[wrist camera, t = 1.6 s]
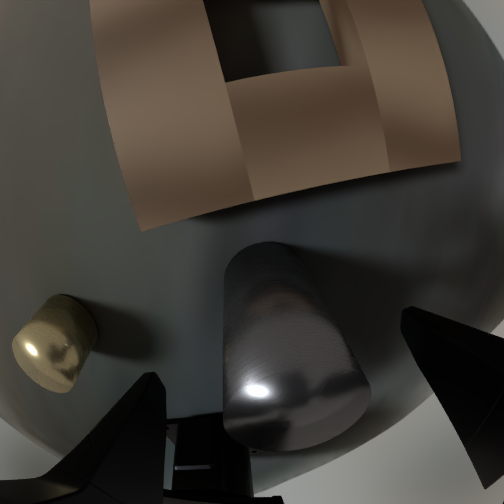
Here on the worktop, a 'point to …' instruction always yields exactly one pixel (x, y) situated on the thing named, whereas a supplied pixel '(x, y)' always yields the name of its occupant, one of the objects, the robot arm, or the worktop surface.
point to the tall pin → (284, 356)
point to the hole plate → (266, 106)
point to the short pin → (56, 343)
